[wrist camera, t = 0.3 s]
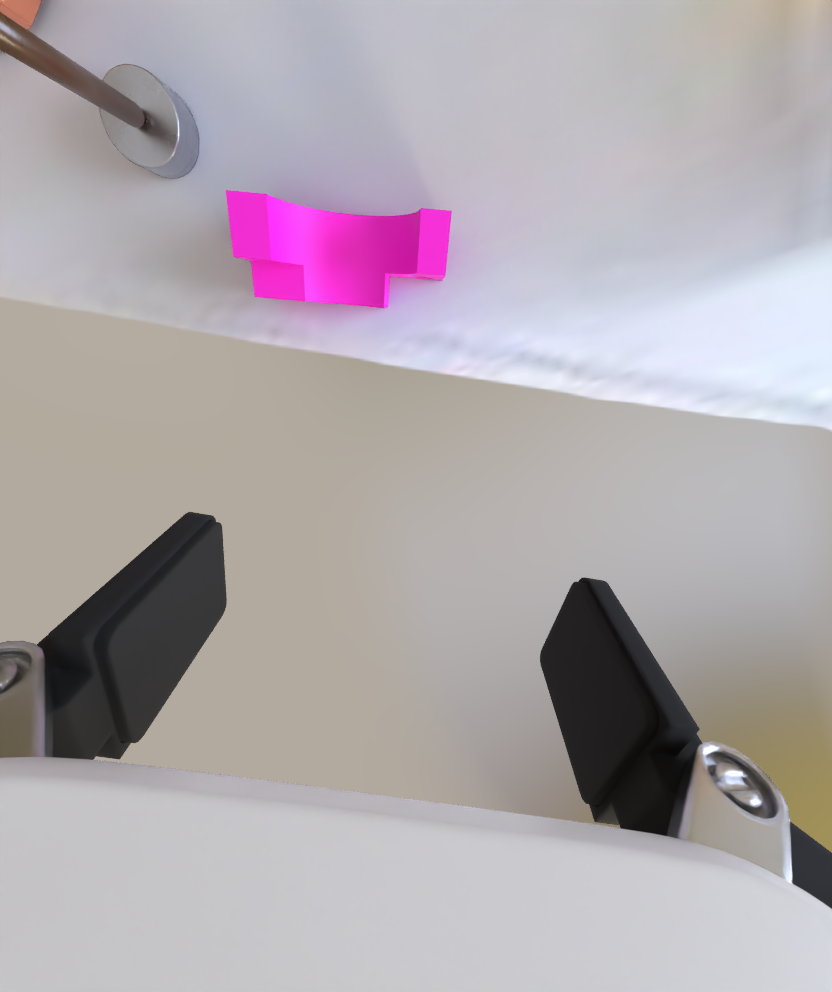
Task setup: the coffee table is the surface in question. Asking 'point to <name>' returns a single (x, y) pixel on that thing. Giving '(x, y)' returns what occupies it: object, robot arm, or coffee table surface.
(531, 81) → the coffee table surface
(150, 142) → the meat pounder
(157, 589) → the robot arm
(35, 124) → the coffee table surface
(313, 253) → the toy block
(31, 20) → the bowl
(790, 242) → the coffee table surface
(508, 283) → the coffee table surface
